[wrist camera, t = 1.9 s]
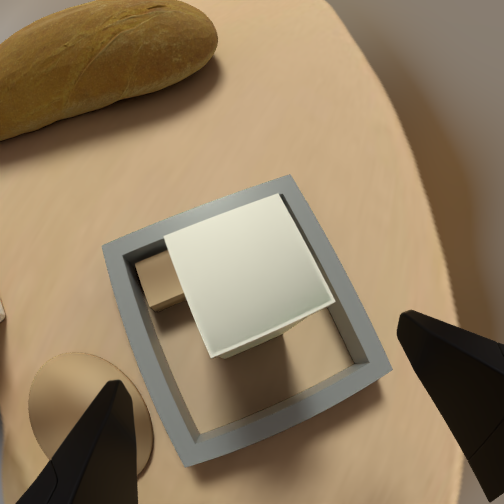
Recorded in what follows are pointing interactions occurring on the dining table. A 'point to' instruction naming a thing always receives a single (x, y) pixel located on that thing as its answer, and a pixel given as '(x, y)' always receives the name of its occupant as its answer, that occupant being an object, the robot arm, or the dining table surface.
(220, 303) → the tall square-topped block
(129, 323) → the grey square frame
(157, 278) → the block
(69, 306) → the dining table surface
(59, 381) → the coaster
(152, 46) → the bread
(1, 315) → the medicine bottle
